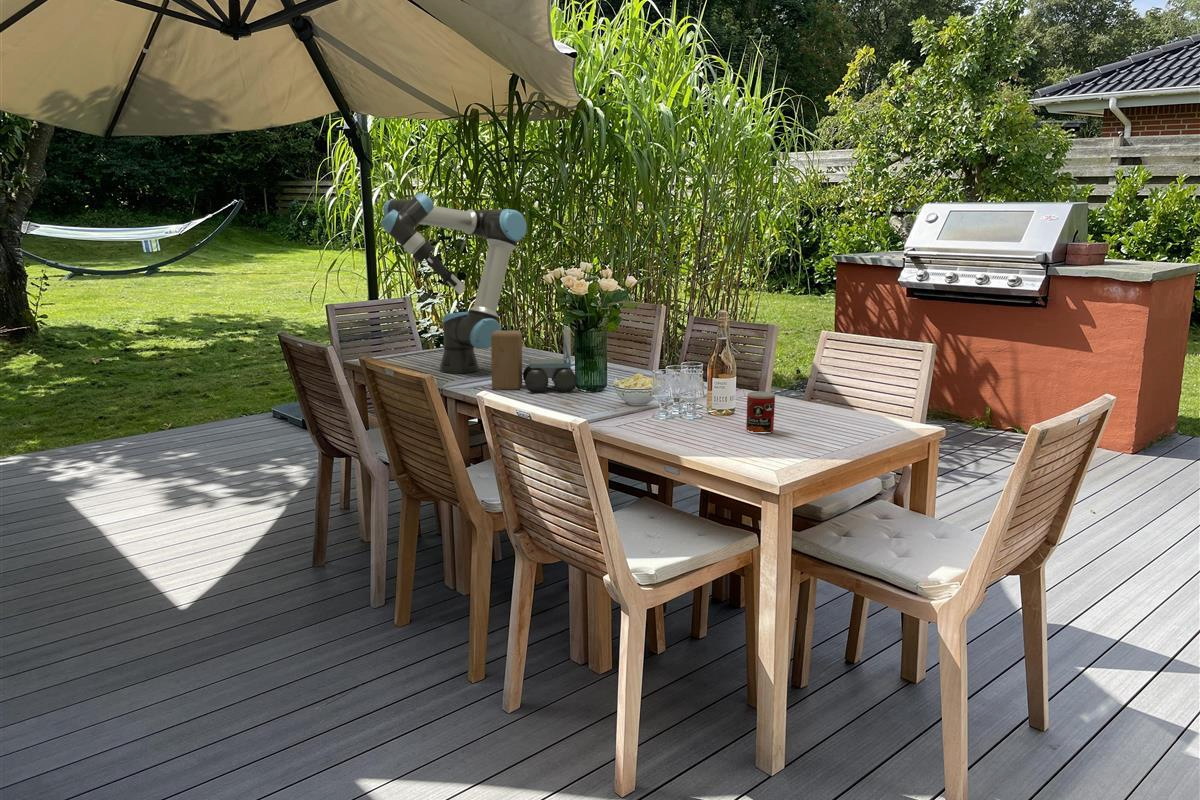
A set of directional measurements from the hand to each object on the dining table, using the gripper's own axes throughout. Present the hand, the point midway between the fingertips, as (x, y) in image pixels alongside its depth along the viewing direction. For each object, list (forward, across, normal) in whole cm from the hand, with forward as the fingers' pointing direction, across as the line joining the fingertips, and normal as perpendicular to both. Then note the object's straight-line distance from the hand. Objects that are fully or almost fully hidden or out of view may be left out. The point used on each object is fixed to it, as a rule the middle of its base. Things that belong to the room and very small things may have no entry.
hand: (463, 290), depth 328 cm
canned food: (+83, +86, +35) cm, 125 cm away
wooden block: (+35, +9, -13) cm, 38 cm away
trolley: (+45, +14, -3) cm, 47 cm away
